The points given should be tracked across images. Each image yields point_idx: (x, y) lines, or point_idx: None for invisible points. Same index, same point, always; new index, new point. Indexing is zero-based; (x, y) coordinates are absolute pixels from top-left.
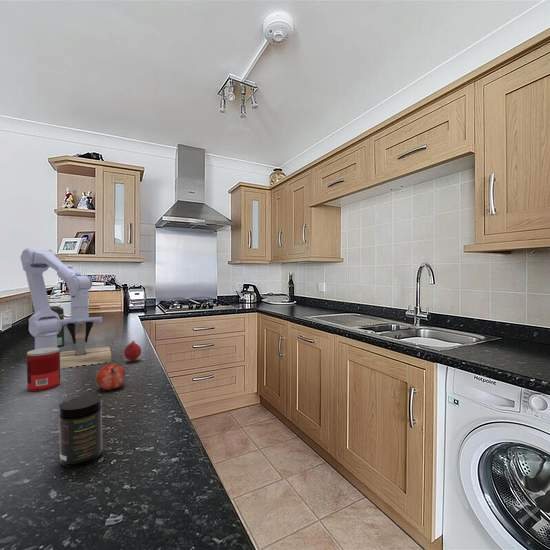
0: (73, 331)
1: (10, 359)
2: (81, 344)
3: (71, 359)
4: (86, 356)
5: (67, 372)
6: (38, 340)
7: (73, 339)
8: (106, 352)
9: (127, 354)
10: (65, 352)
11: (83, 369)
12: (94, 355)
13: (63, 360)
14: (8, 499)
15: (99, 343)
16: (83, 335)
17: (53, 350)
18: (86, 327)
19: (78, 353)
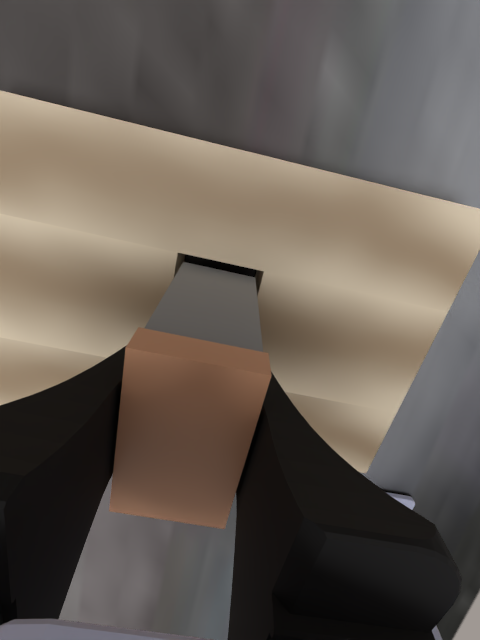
0: (296, 459)
1: (464, 578)
2: (201, 301)
3: (315, 169)
4: (186, 173)
5: (371, 14)
6: (437, 635)
7: (276, 387)
8: (4, 201)
9: None
10: None
11: (247, 8)
12: (116, 155)
13: (376, 183)
14: None
15: (62, 610)
16: (153, 350)
17: None
18: (34, 445)
19: (234, 278)
